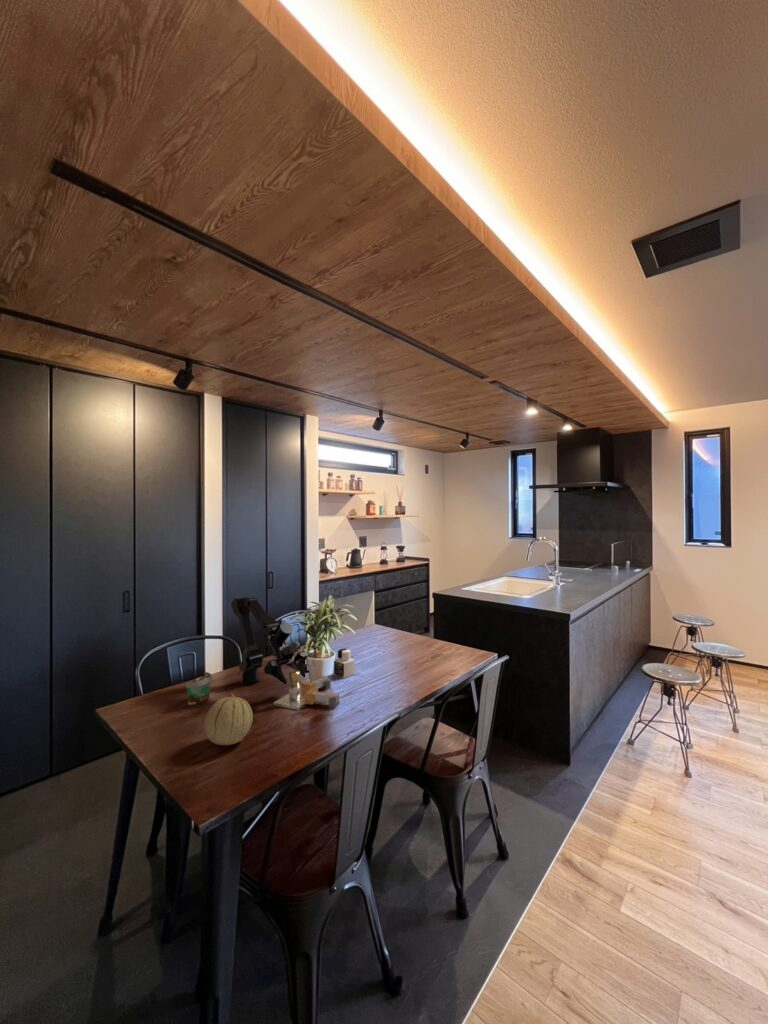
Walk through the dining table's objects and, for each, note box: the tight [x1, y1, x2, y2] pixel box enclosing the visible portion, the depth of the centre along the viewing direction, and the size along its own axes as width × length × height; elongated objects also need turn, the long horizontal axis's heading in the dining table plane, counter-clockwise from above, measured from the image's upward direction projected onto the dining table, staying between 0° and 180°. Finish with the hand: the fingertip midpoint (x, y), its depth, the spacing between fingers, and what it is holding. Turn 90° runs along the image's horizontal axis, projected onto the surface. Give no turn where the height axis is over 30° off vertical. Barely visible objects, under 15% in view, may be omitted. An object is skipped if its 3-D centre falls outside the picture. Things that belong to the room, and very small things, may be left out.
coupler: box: [288, 669, 301, 702], centre depth 166 cm, size 4×4×11 cm
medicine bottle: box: [333, 648, 356, 679], centre depth 195 cm, size 7×7×12 cm
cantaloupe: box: [204, 692, 254, 747], centre depth 135 cm, size 15×15×15 cm
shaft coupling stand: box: [272, 676, 340, 711], centre depth 169 cm, size 24×24×5 cm
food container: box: [185, 671, 213, 707], centre depth 167 cm, size 12×6×10 cm, turn 168°
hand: (295, 680), depth 166 cm, fingers open, 9 cm apart
